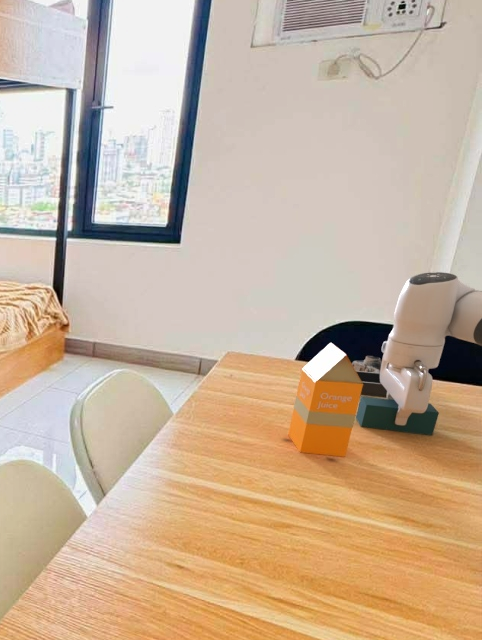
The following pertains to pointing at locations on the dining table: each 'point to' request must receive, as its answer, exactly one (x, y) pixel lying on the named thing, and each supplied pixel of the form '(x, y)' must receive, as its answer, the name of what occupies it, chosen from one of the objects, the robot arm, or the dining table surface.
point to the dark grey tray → (371, 384)
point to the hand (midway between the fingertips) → (394, 418)
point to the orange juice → (325, 404)
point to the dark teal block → (383, 413)
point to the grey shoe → (368, 365)
